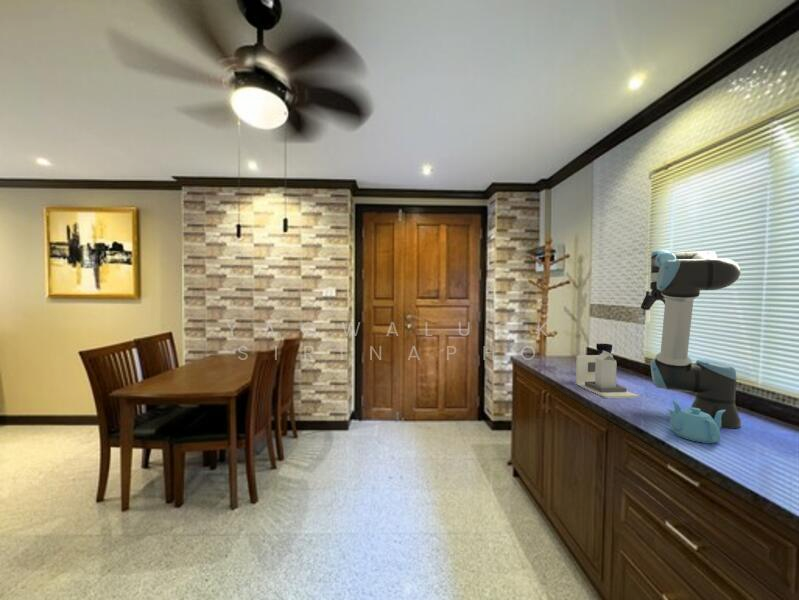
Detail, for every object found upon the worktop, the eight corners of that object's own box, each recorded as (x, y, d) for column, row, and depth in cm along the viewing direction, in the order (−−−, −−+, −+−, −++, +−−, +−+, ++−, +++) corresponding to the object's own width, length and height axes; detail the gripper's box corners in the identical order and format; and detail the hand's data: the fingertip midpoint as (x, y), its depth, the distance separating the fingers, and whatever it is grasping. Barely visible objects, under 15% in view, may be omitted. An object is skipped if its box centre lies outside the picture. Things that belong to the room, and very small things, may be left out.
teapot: (720, 451, 112) (721, 419, 111) (662, 436, 123) (663, 407, 122) (724, 438, 122) (725, 409, 121) (670, 425, 133) (671, 398, 132)
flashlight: (594, 378, 203) (595, 344, 202) (597, 375, 209) (598, 342, 208) (609, 380, 198) (610, 345, 197) (612, 378, 204) (613, 344, 203)
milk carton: (600, 390, 174) (601, 352, 174) (594, 386, 181) (595, 350, 181) (615, 390, 173) (616, 353, 173) (609, 387, 181) (610, 350, 180)
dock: (637, 397, 167) (638, 364, 166) (606, 398, 165) (607, 365, 164) (603, 384, 190) (603, 355, 190) (575, 384, 189) (576, 355, 188)
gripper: (689, 281, 163) (688, 326, 163) (646, 282, 187) (645, 321, 188) (675, 280, 162) (673, 326, 162) (633, 281, 187) (632, 321, 187)
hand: (658, 323), depth 175 cm, fingers open, 13 cm apart
